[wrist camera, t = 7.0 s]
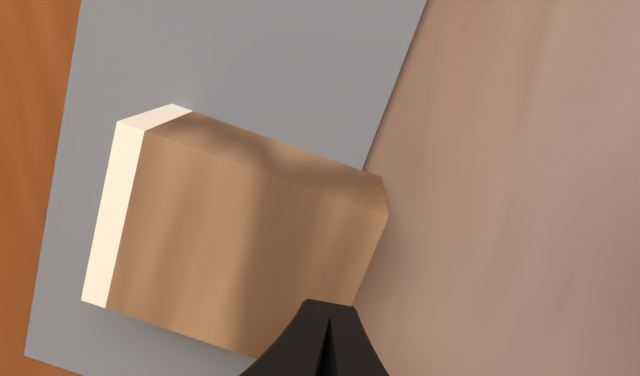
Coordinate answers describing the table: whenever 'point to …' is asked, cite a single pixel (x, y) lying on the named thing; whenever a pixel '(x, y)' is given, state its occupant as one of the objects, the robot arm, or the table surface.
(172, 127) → the brown and cream block
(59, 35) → the table surface
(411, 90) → the table surface
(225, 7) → the mat
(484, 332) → the table surface
